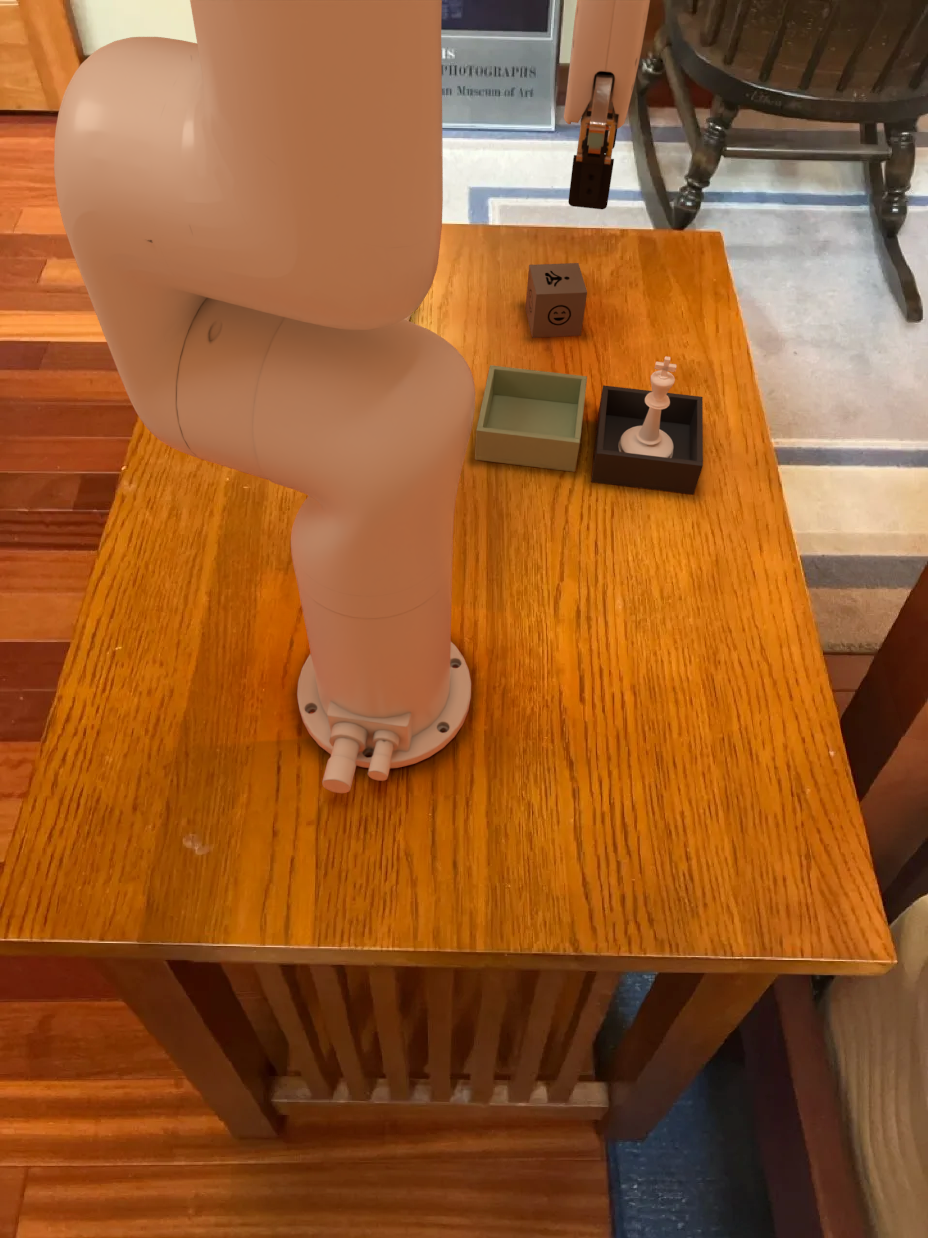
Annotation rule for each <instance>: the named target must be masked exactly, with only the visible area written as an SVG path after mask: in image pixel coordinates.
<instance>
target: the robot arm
mask: <svg viewBox="0 0 928 1238" xmlns="http://www.w3.org/2000/svg"><path fill="white" fill-rule="evenodd" d="M189 2H190V3H189V4H190V8H191V14H192V21H193V27H194V33H195V38H196V42H192V41H188V40H182V39H175V38H170V37H162V36H132V37H126V38H122V39H118V40H113V41H112V42H110V43H108V44H104V45H103V46H100V47H99V48H97V49H96V50H95V51H94V52H92V53H91V54H90V55H89V56H88V57H86V59H85V60H84V61H83V62H81V63H80V65H79V66H78V68H77V69H76V70H75V72H74V73H73V76H72V77H71V79H70V81H69V83H68V84H67V86H66V88H65V90H64V93H63V96H62V100H61V103H60V106H59V110H58V114H57V119H56V125H55V126H56V127H55V131H54V132H55V133H54V149H53V150H54V152H53V153H54V158H53V169H54V170H53V171H54V172H53V173H54V184H55V191H56V192H55V193H56V198H57V205H58V208H59V212H60V217H61V221H62V225H63V228H64V231H65V234H66V236H67V240H68V242H69V245H70V249H71V251H72V255H73V257H74V261H75V263H76V265H77V268H78V270H79V273H80V276H81V278H82V281H83V284H84V286H85V289H86V291H87V295H88V297H89V299H90V302H91V304H92V307H93V310H94V313H95V315H96V317H97V321H98V322H99V326H100V328H101V331H102V333H103V336H104V339H105V341H106V343H107V346H108V349H109V351H110V354H111V357H112V359H113V362H114V364H115V367H116V370H117V372H118V375H119V378H120V380H121V382H122V384H123V387H124V389H125V392H126V395H127V396H128V399H129V401H130V403H131V405H132V407H133V408H134V411H135V413H136V414H137V416H138V417H139V419H140V421H141V422H142V424H143V425H144V426H145V427H146V429H147V430H148V431H149V432H150V433H151V434H152V435H153V436H154V437H155V438H156V439H158V440H159V441H160V442H161V443H163V444H164V445H166V446H168V447H170V448H171V449H174V450H176V451H178V452H180V453H183V454H185V455H188V456H191V457H193V458H197V459H200V460H201V461H202V460H203V461H206V462H209V463H212V464H216V465H218V466H221V467H225V468H228V469H232V470H234V471H239V472H241V473H245V474H248V475H252V476H254V477H258V478H261V479H264V480H268V481H269V482H271V483H272V484H274V485H278V486H281V487H285V488H287V489H291V490H294V491H296V492H300V493H302V494H305V495H307V497H306V499H305V500H304V501H303V502H302V504H301V506H300V507H299V509H298V512H297V513H296V516H295V518H294V521H293V524H292V528H291V534H290V554H291V559H292V566H293V569H294V574H295V578H296V584H297V588H298V593H299V599H300V604H301V610H302V615H303V619H304V624H305V625H304V626H305V629H306V635H307V640H308V646H309V651H310V653H309V655H308V656H307V658H306V660H305V662H304V664H303V665H302V667H301V671H300V674H299V676H298V680H297V691H296V696H297V703H298V709H299V713H300V716H301V720H302V723H303V724H304V726H305V728H306V730H307V732H308V735H310V737H311V738H312V739H313V741H315V743H316V744H317V745H318V746H319V747H320V748H322V749H323V750H324V751H326V753H328V754H329V755H330V757H329V758H328V759H327V763H326V767H325V770H324V773H323V777H322V781H321V784H322V786H323V788H324V789H325V790H327V791H329V792H332V793H337V794H346V793H349V792H351V788H352V785H353V781H354V777H355V773H356V768H357V767H360V768H365V769H368V770H367V776H368V777H369V778H370V779H372V780H375V781H379V782H380V781H382V782H385V781H386V780H388V779H389V774H390V770H391V769H398V768H402V767H407V766H412V765H414V764H415V765H416V764H417V763H420V762H421V761H424V760H426V759H429V758H431V757H432V756H433V755H435V754H437V753H438V752H440V751H441V750H443V749H444V748H446V746H447V745H448V744H449V743H450V742H452V740H453V739H454V738H455V737H456V736H457V734H458V732H459V731H460V730H461V728H462V727H463V725H464V723H465V721H466V719H467V716H468V714H469V711H470V705H471V699H472V680H471V674H470V669H469V667H468V664H467V662H466V660H465V657H464V656H463V654H462V653H461V651H460V650H459V649H458V647H457V645H456V644H455V643H453V642H452V603H453V602H452V599H453V595H452V594H453V557H454V556H453V551H454V549H453V548H454V526H455V525H454V522H455V512H456V503H457V494H458V490H459V485H460V484H459V483H460V479H461V474H462V471H463V466H464V463H465V462H464V461H465V458H466V454H467V450H468V446H469V441H470V438H471V435H472V431H473V430H472V429H473V425H474V424H473V423H474V417H475V412H476V385H475V380H474V376H473V373H472V369H471V367H470V365H469V364H468V362H467V360H466V359H465V358H464V356H463V355H462V354H461V353H460V351H459V350H458V349H457V348H456V347H455V346H454V345H452V343H450V342H449V341H448V340H446V339H445V338H444V337H442V336H440V335H439V334H438V333H436V332H434V331H432V330H431V329H428V328H426V327H424V326H421V325H419V324H417V323H415V322H412V321H410V320H409V321H407V320H404V319H405V318H407V317H408V316H409V315H410V314H411V315H412V314H413V313H414V312H415V311H417V310H418V308H420V306H421V305H422V304H423V302H424V301H425V300H424V299H425V298H426V296H427V295H428V294H429V292H430V289H431V288H432V286H433V283H434V281H435V277H436V273H437V271H438V270H437V269H438V265H439V256H440V249H441V248H440V247H441V240H442V228H443V207H444V205H443V204H444V184H443V183H444V182H443V181H444V177H443V174H444V172H443V168H444V167H443V166H444V165H443V164H444V163H443V162H444V161H443V158H444V156H443V155H444V154H443V153H444V152H443V148H444V147H443V142H444V141H443V71H442V70H443V69H442V68H443V65H442V63H443V61H442V13H443V12H442V11H443V10H442V9H443V8H442V7H443V0H189ZM650 2H651V0H576V5H575V13H574V20H573V28H572V29H573V31H572V39H571V47H570V48H571V49H570V57H569V67H568V77H567V87H566V94H565V104H564V111H563V119H564V121H565V123H566V124H568V125H571V124H572V123H575V124H578V123H579V122H580V127H579V134H578V142H577V150H576V154H574V155H573V159H572V166H571V174H570V175H571V176H570V184H569V191H568V192H569V194H568V202H567V203H568V205H569V206H570V207H573V208H574V207H575V208H585V209H592V210H593V209H594V210H605V209H606V208H608V204H609V203H608V202H609V196H610V190H611V183H612V176H613V170H614V164H615V158H612V157H613V156H612V155H613V150H614V148H616V147H615V146H616V140H617V133H618V129H620V128H622V127H623V126H624V125H625V123H626V118H627V115H628V112H629V111H628V110H629V107H630V103H631V99H632V94H633V91H634V86H635V82H636V77H637V73H638V68H639V64H640V59H641V54H642V50H643V49H642V48H643V43H644V38H645V33H646V27H647V21H648V15H649V9H650Z"/></svg>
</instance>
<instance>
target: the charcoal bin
mask: <svg viewBox="0 0 928 1238" xmlns="http://www.w3.org/2000/svg"><path fill="white" fill-rule="evenodd" d="M650 392H652V390H647V389H638V388H630V387H622V386H613V385H602V389H601V394H600V399H599V400H600V401H599V405H598V412H597V418H596V430H595V439H594V447H593V448H594V450H593V459H592V460H593V461H592V468H591V469H592V470H591V481H590V482H591V483H596V484H603V485H604V484H605V485H613V486H620V487H629V488H637V489H645V490H653V491H660V492H661V491H662V492H671V493H676V494H686V495H695V493H696V489H697V485H698V483H699V480H700V476H701V473H702V469H703V467H704V434H703V431H704V427H703V426H704V423H703V421H704V418H703V417H704V416H703V415H704V414H703V413H704V412H703V411H704V410H703V408H704V407H703V405H704V404H703V403H704V402H703V401H704V397H703V396H700V395H699V396H698V395H691V394H682V393H674V392H668V393H667V394H666V395H667V396H668V397H669V400H670V404H669V406H668V407H667V408H665V409H662V410H661V415H660V426H659V429H660V430H662V431H664V432H665V433H666V434H667V435H668V436H669V437H670V438H671V440H672V442H673V456H672V458H666V457H658V456H650V455H641V454H633V453H625V452H619V449H618V444H619V441H620V439H621V436H622V435H623V433H624V432H625V431H626V430H628V429H630V428H632V427H636V426H643V423H644V421H645V418H646V416H647V413H648V410H649V408H650V407H649V406H647V405H646V403H645V397H646V396H647V394H648V393H650Z"/></svg>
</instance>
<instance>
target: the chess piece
mask: <svg viewBox="0 0 928 1238" xmlns="http://www.w3.org/2000/svg"><path fill="white" fill-rule="evenodd" d="M670 362H671V356H667V355H665V357H664V359H663V361H655V365H654V370H655V371H654V372H652V374H651V375H650V384H651V391H652V392H650V393H648V394H647V396H646V397H645V403H646V405H647V406H649V407H650V408H649V410H648V413H647V416H646V418H645V421H644V423H643V426H636V427H632V428H630V429H628V430H626V431H625V432H624V433H623V435H622V436H621V439H620V441H619V444H618V449H619V452H625V453H633V454H641V455H650V456H658V457H666V458H672V456H673V442H672V440H671V438H670V437H669V436H668V435H667V434H666V433H665V432H664V431H662V430H660V429H659V426H660V415H661V410H662V409H665V408H667V407H668V406H669V404H670V400H669V397H668V396H667V395H666V394H667V393H669V391H670V389H671V388H672V387H673V385H674V384H675V382H676V378H675V376H674V374H673V373H676V371H677V363H670Z"/></svg>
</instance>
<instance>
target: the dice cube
mask: <svg viewBox="0 0 928 1238" xmlns="http://www.w3.org/2000/svg"><path fill="white" fill-rule="evenodd" d="M525 296H526V297H525V307H524V308H525V312H526V316H527V322H528V326H529V330H530V334H531V339H539V338H559V337H560V338H561V337H562V338H563V337H579V336H580V337H581V336H582V333H583V332H582V331H583V323H584V317H585V311H586V303H587V297H588V290H587V286H586V283H585V280H584V277H583V273H582V270H581V267H580V264H579V262H569V263H568V262H567V263H566V262H565V263H544V264H543V263H541V264H540V263H539V264H538V263H537V264H529V265H528V273H527V285H526V294H525Z"/></svg>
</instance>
